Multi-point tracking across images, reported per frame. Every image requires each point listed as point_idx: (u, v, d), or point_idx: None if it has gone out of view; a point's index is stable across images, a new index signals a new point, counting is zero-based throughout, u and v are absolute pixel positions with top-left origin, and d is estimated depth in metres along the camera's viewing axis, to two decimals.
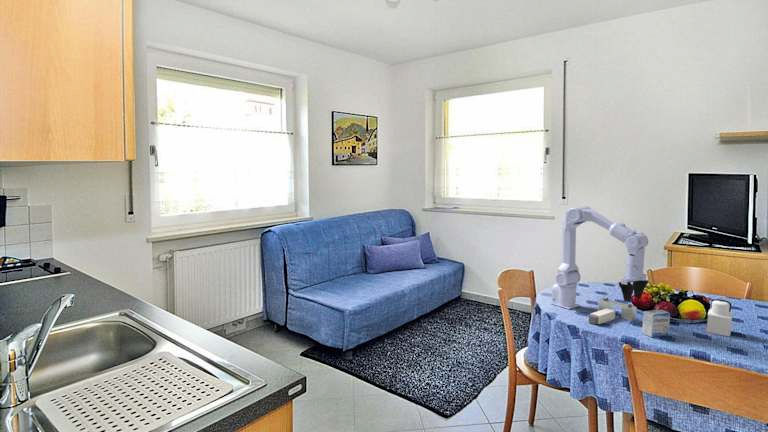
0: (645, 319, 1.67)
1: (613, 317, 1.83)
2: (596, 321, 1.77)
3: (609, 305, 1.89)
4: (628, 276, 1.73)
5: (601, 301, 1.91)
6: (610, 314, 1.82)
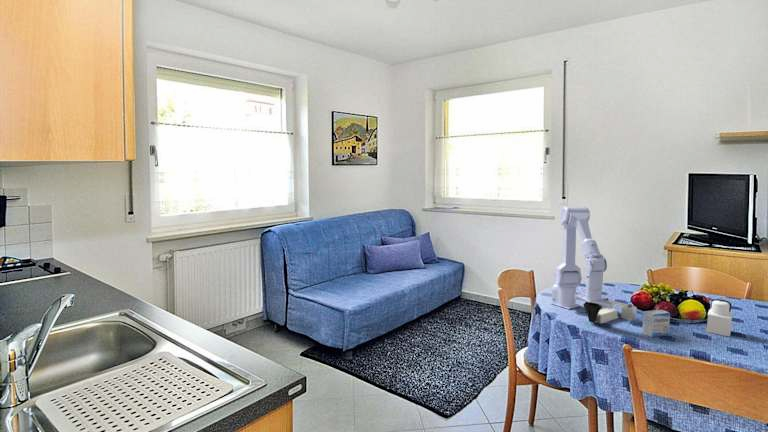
0: (645, 319, 1.67)
1: (615, 316, 1.84)
2: (598, 320, 1.78)
3: None
4: None
5: None
6: (612, 313, 1.82)
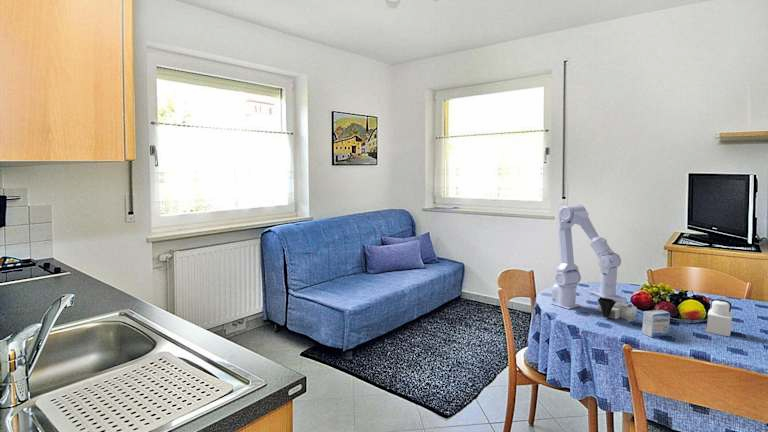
0: (645, 319, 1.67)
1: None
2: (613, 315, 1.83)
3: None
4: None
5: None
6: None
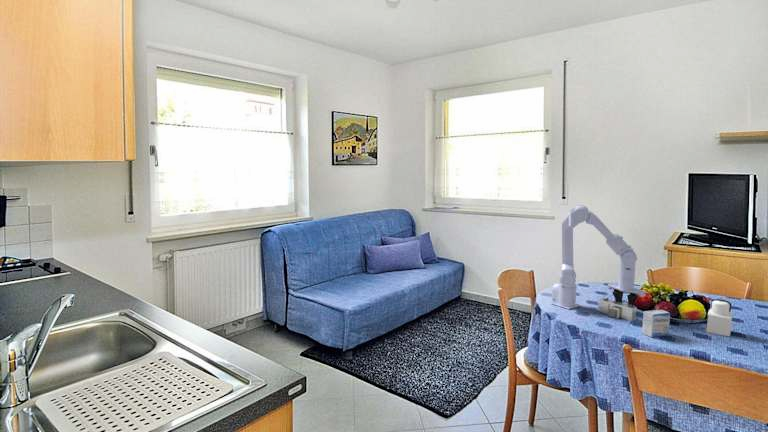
0: (645, 319, 1.67)
1: None
2: (615, 314, 1.85)
3: (609, 305, 1.89)
4: None
5: (601, 301, 1.91)
6: None
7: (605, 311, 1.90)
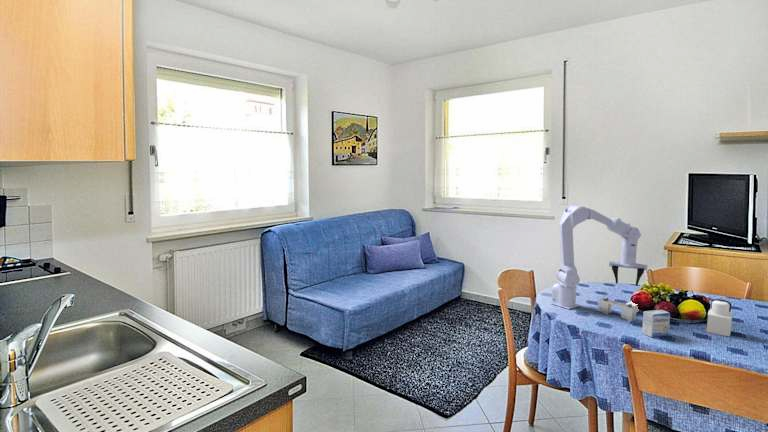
0: (645, 319, 1.67)
1: None
2: None
3: (609, 305, 1.89)
4: None
5: (601, 301, 1.91)
6: None
7: (605, 311, 1.90)
